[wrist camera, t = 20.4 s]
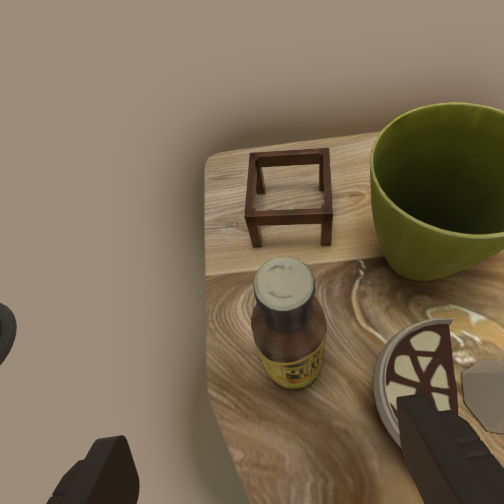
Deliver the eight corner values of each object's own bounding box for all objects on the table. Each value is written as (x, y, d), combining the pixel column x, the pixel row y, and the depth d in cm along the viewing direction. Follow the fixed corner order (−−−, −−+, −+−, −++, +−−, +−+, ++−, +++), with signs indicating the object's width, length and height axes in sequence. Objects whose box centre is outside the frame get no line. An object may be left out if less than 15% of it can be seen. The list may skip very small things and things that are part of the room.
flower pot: (504, 232, 45) (586, 128, 31) (462, 337, 40) (539, 268, 26) (384, 189, 51) (408, 86, 37) (333, 276, 45) (340, 194, 32)
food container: (363, 339, 41) (376, 305, 33) (423, 345, 40) (452, 312, 31) (362, 467, 35) (377, 467, 27) (432, 479, 34) (471, 483, 25)
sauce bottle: (295, 405, 39) (280, 356, 22) (254, 363, 42) (210, 290, 25) (335, 359, 41) (350, 281, 23) (292, 322, 43) (277, 227, 26)
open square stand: (253, 247, 49) (244, 216, 43) (257, 187, 54) (249, 152, 48) (330, 245, 48) (332, 213, 42) (327, 184, 52) (329, 147, 46)
